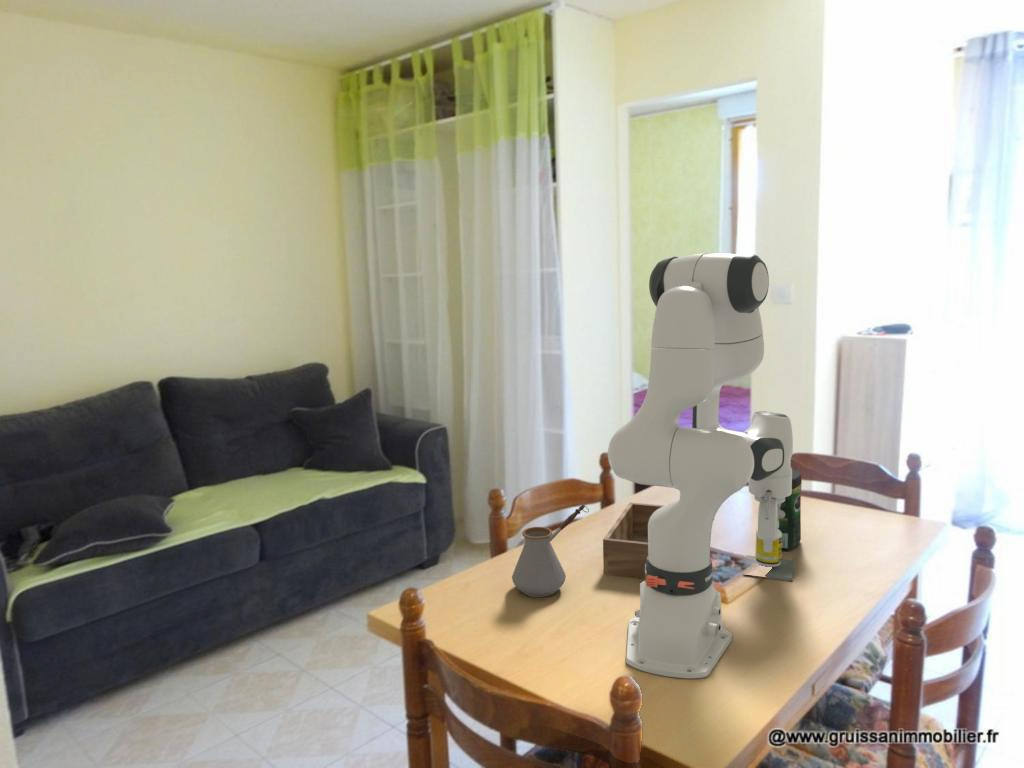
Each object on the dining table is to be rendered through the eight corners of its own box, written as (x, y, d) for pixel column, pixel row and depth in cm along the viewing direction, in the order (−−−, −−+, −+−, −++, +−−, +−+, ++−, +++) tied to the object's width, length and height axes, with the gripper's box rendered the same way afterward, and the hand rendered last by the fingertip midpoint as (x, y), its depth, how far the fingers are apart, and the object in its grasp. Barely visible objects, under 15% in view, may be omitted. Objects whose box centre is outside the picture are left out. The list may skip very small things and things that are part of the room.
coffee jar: (771, 534, 181) (772, 461, 178) (804, 540, 177) (806, 466, 174) (757, 546, 174) (758, 471, 171) (791, 553, 169) (793, 476, 166)
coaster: (792, 581, 155) (792, 578, 155) (743, 575, 159) (743, 572, 159) (793, 562, 164) (793, 560, 164) (746, 557, 168) (746, 555, 168)
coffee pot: (539, 606, 148) (536, 536, 146) (501, 590, 156) (498, 523, 154) (607, 573, 162) (605, 509, 160) (568, 560, 171) (567, 498, 168)
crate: (666, 581, 157) (666, 546, 156) (603, 573, 162) (602, 539, 161) (686, 538, 181) (686, 507, 179) (630, 532, 186) (629, 502, 185)
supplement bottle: (783, 568, 158) (784, 525, 156) (756, 567, 159) (757, 524, 157) (779, 558, 163) (780, 516, 161) (753, 557, 164) (754, 515, 163)
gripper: (783, 500, 147) (782, 565, 150) (787, 472, 166) (785, 530, 168) (751, 497, 150) (750, 561, 152) (757, 470, 169) (756, 528, 171)
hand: (768, 545), depth 160 cm, fingers closed on supplement bottle, 5 cm apart
